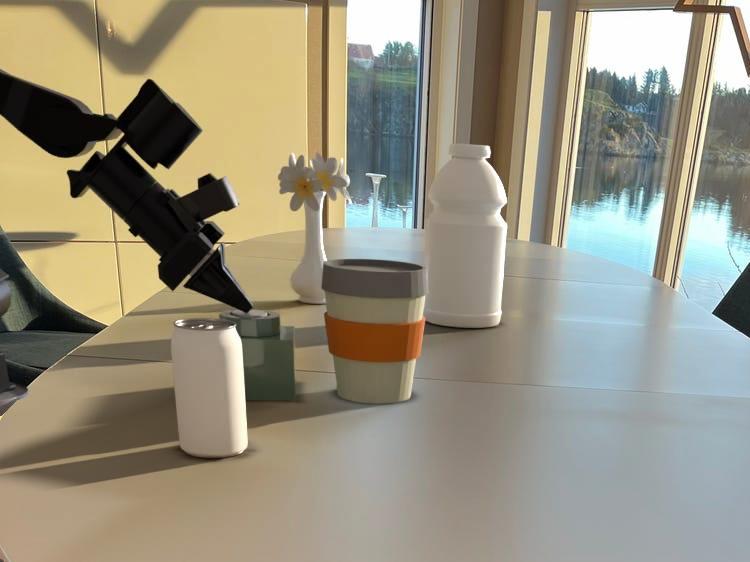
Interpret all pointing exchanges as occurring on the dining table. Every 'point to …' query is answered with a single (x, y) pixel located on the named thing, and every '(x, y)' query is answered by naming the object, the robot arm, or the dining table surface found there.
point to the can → (209, 387)
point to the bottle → (465, 242)
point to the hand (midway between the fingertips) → (250, 309)
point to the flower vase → (312, 217)
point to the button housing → (266, 356)
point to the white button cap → (250, 313)
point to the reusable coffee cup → (374, 326)
